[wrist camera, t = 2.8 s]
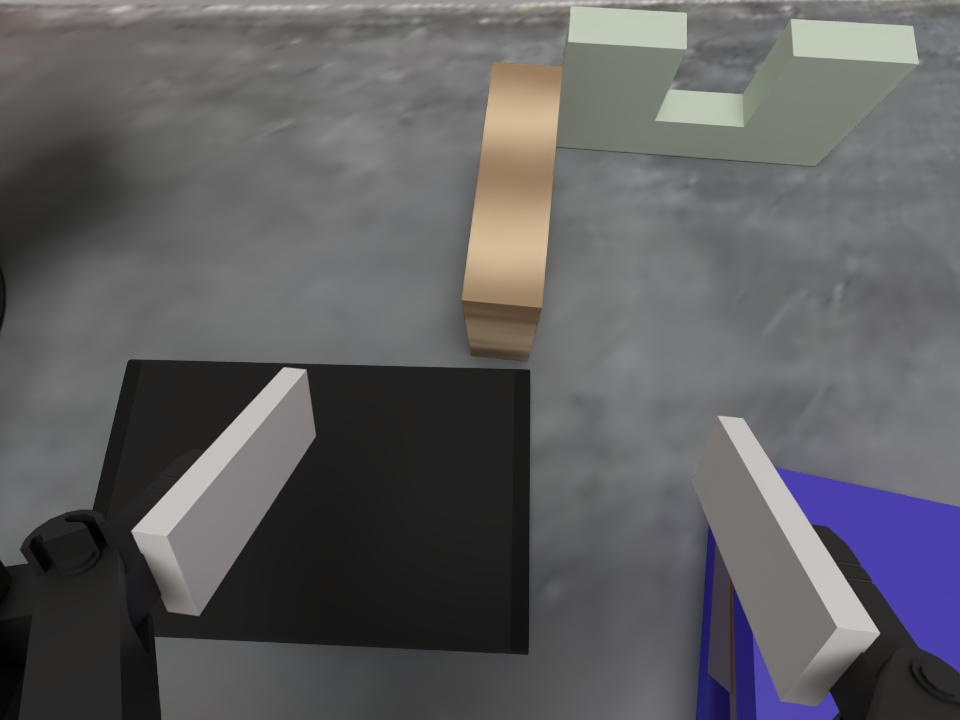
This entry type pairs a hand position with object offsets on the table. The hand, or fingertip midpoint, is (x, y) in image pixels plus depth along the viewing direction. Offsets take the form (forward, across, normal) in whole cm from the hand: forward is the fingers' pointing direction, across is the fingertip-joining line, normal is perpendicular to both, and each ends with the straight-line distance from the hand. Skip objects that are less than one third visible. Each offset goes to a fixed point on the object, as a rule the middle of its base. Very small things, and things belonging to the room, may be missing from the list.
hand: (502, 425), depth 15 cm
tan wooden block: (+18, -1, 0) cm, 18 cm away
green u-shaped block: (+25, +10, +7) cm, 28 cm away
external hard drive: (+7, -10, -12) cm, 17 cm away
